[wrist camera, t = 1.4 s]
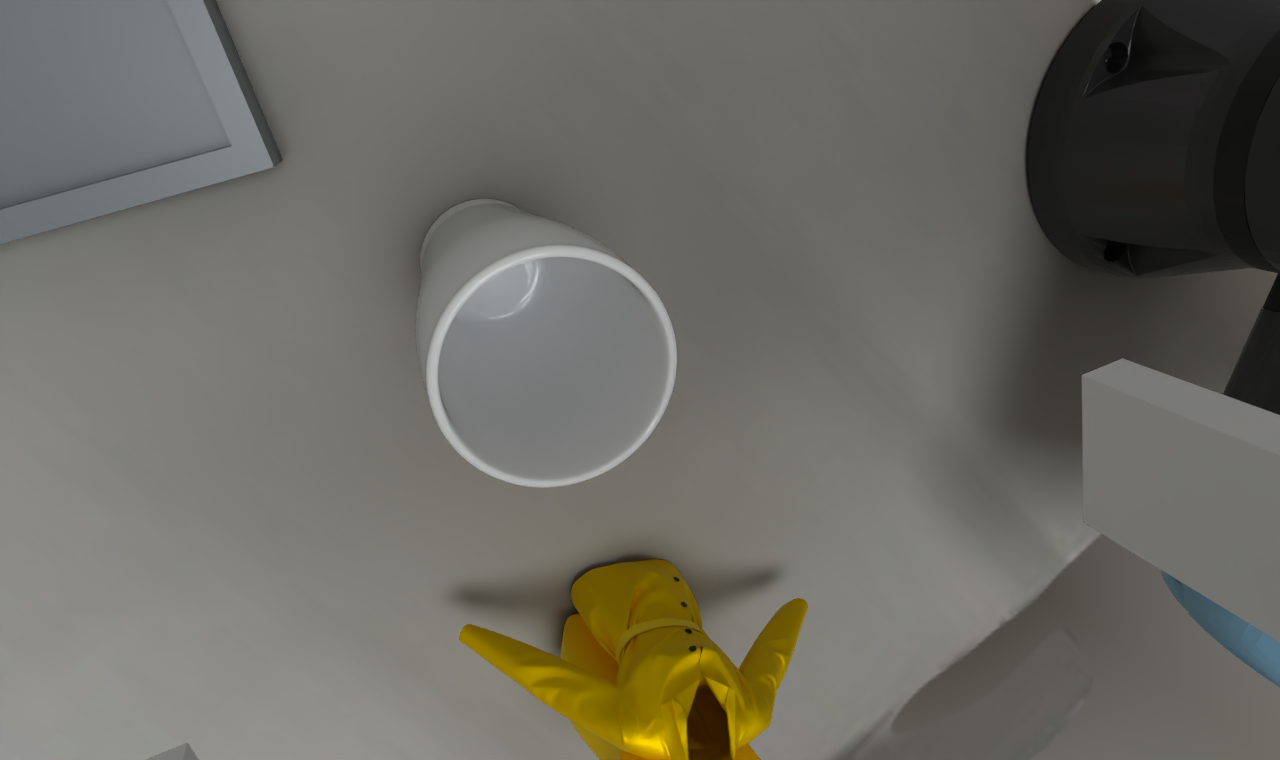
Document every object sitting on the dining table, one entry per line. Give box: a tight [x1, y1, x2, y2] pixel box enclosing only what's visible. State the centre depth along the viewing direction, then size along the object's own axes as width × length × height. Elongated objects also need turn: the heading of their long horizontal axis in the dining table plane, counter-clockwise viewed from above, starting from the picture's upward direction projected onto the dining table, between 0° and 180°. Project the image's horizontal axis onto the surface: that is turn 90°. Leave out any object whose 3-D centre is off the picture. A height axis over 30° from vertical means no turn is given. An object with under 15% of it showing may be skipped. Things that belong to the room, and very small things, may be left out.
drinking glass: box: [415, 199, 677, 488], centre depth 27 cm, size 7×7×15 cm
